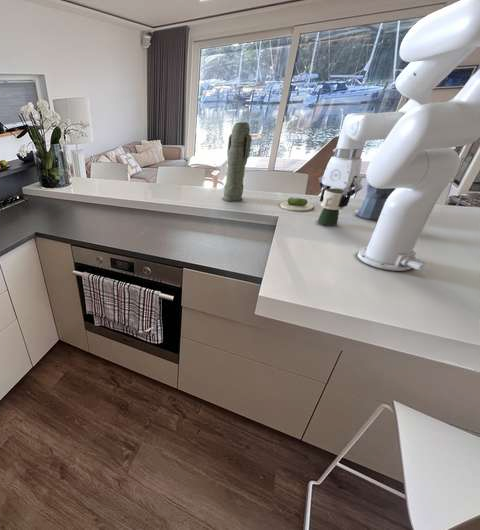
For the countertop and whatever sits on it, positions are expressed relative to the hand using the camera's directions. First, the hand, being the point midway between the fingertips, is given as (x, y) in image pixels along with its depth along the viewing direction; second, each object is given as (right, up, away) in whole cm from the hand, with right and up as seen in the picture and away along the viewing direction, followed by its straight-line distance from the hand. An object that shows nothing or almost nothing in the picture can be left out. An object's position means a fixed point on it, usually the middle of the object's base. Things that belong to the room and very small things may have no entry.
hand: (332, 203), depth 107 cm
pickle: (0, +4, +23) cm, 23 cm away
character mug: (+1, -7, +4) cm, 8 cm away
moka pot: (+20, -4, +7) cm, 22 cm away
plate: (0, +4, +23) cm, 23 cm away
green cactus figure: (-22, +10, +39) cm, 46 cm away
